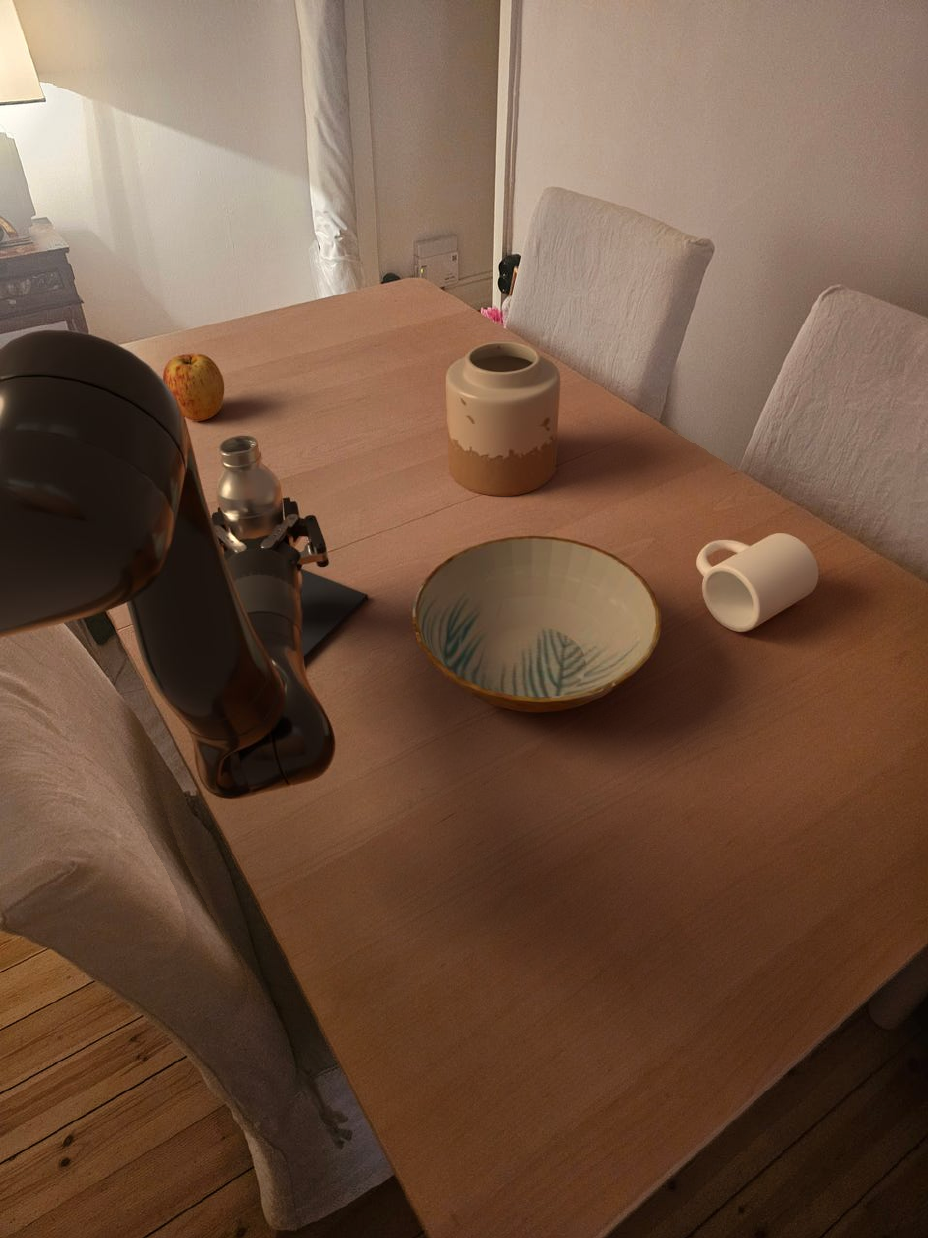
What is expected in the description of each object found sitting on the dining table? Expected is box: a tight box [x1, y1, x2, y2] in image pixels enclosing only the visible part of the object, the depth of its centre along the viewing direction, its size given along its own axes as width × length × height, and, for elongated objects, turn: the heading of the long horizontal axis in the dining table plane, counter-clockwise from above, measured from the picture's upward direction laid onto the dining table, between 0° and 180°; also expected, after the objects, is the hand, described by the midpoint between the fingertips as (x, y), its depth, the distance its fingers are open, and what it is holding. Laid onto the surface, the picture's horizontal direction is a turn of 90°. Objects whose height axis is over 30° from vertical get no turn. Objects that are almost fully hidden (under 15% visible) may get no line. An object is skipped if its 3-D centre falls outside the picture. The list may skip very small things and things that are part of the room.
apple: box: [162, 353, 225, 422], centre depth 129 cm, size 9×9×10 cm
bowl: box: [412, 535, 662, 713], centre depth 86 cm, size 25×25×8 cm
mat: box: [300, 568, 369, 663], centre depth 95 cm, size 16×14×1 cm
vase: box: [444, 340, 561, 497], centre depth 112 cm, size 15×15×17 cm
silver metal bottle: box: [215, 435, 302, 595], centre depth 86 cm, size 6×7×20 cm
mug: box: [695, 532, 819, 633], centre depth 93 cm, size 12×10×8 cm
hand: (255, 509), depth 87 cm, fingers closed on silver metal bottle, 6 cm apart
